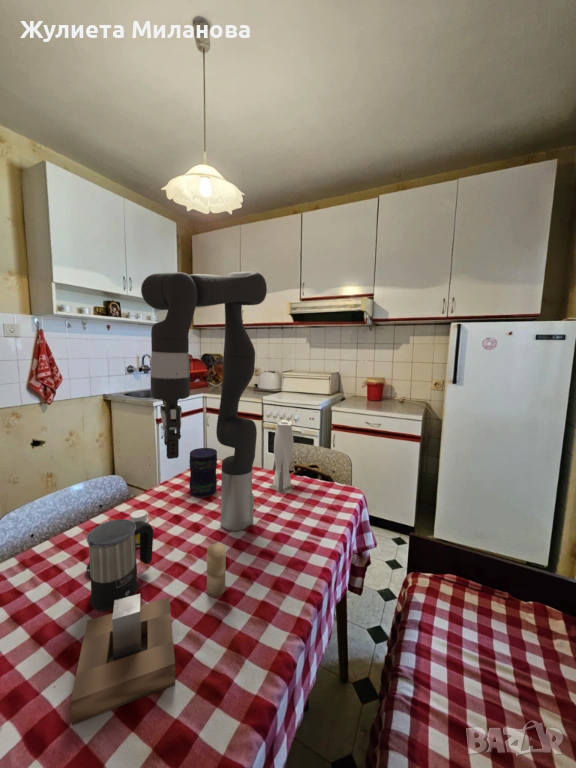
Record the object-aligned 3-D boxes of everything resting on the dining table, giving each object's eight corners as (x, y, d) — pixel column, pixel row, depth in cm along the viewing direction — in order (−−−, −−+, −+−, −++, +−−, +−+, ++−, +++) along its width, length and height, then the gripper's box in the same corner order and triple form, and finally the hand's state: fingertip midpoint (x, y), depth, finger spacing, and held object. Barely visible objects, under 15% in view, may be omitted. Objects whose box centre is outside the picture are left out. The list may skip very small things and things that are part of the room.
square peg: (141, 643, 56) (140, 593, 55) (141, 664, 53) (139, 611, 51) (116, 651, 54) (114, 600, 53) (114, 673, 51) (112, 619, 50)
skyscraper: (266, 485, 122) (268, 416, 118) (281, 480, 127) (284, 413, 124) (280, 493, 116) (283, 421, 112) (296, 487, 121) (299, 418, 118)
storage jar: (213, 498, 110) (213, 457, 108) (185, 496, 110) (185, 456, 108) (219, 485, 120) (220, 448, 118) (194, 484, 120) (194, 447, 118)
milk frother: (117, 616, 62) (115, 548, 60) (51, 601, 65) (47, 536, 63) (159, 567, 76) (158, 510, 74) (103, 556, 79) (101, 501, 77)
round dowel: (222, 581, 72) (223, 541, 71) (226, 593, 69) (227, 552, 67) (205, 585, 71) (205, 545, 69) (208, 599, 67) (208, 556, 66)
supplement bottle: (141, 549, 82) (140, 519, 81) (125, 546, 83) (124, 517, 82) (152, 538, 87) (152, 510, 85) (137, 535, 87) (136, 507, 86)
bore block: (169, 614, 63) (169, 597, 62) (175, 684, 50) (175, 663, 50) (88, 639, 57) (87, 620, 56) (71, 725, 44) (70, 701, 44)
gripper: (194, 378, 58) (194, 460, 61) (185, 371, 71) (185, 439, 73) (150, 378, 55) (152, 465, 57) (150, 371, 68) (151, 442, 70)
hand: (171, 450), depth 65 cm, fingers open, 8 cm apart
